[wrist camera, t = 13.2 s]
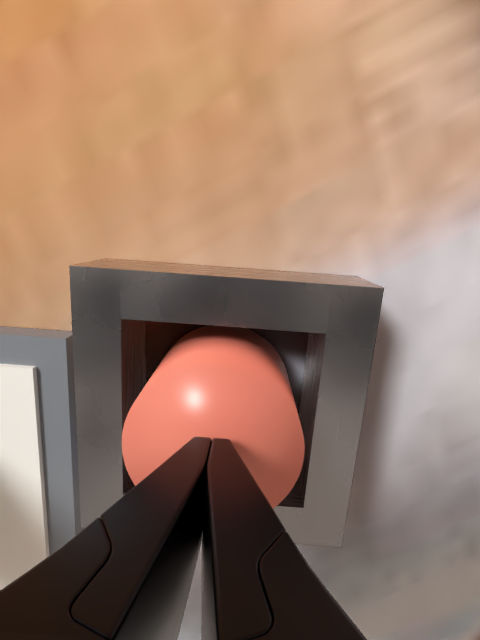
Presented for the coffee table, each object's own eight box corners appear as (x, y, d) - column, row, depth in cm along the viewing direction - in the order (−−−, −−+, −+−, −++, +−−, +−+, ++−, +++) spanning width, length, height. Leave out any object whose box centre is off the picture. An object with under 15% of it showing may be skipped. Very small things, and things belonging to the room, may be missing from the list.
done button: (281, 450, 13) (294, 533, 9) (157, 440, 13) (122, 520, 9) (295, 329, 12) (314, 371, 8) (159, 319, 12) (120, 357, 8)
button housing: (325, 492, 13) (341, 547, 11) (109, 475, 13) (81, 527, 11) (356, 276, 12) (384, 287, 9) (105, 258, 12) (69, 265, 9)
